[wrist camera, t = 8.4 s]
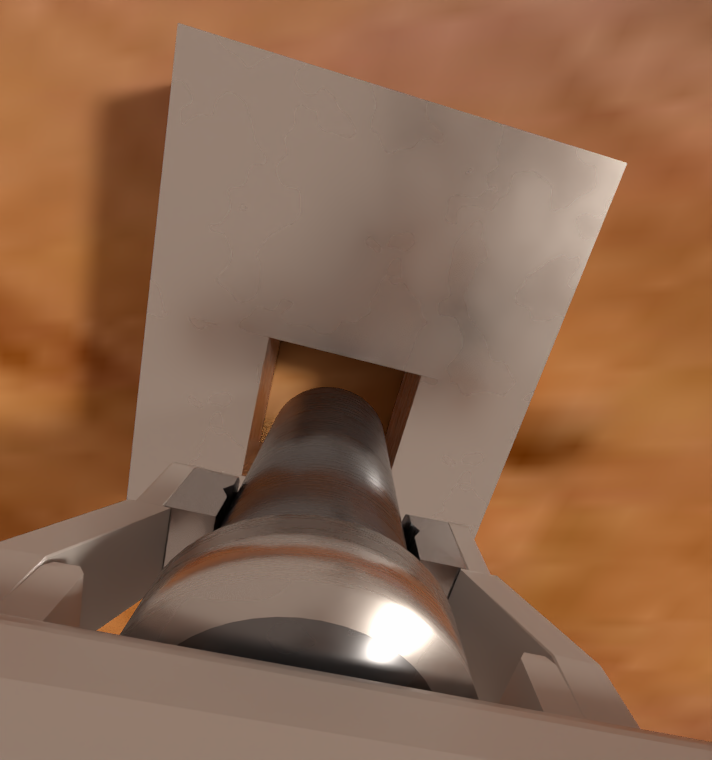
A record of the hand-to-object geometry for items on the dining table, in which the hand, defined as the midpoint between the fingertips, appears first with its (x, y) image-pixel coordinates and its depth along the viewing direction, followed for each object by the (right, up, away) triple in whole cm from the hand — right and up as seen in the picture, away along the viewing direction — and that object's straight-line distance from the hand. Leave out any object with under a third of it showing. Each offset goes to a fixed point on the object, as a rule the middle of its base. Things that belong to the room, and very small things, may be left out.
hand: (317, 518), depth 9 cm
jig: (+1, +5, +7) cm, 9 cm away
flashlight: (0, +1, +4) cm, 5 cm away
